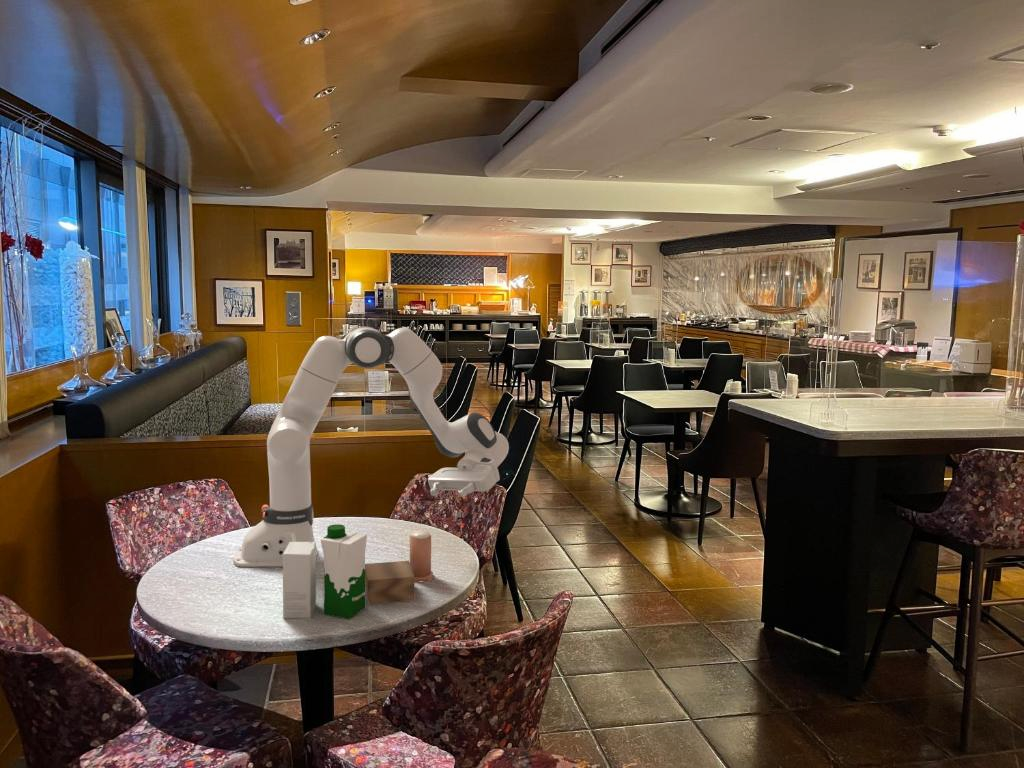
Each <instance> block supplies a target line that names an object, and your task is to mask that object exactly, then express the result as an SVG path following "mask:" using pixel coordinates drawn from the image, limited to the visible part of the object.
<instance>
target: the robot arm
mask: <svg viewBox="0 0 1024 768" xmlns="http://www.w3.org/2000/svg"><path fill="white" fill-rule="evenodd" d="M386 363H390V364H391V365H392V366H393V367H394V368H395V369H396V370H397V372H398V373H399V374H400V375H401V377H403V379H404V380H405V382H406V385H407V387H408V396H409V399H410V401H411V403H412V405H413V407H414V408H415V410H416V412H417V413H418V414H419V416H420V418H421V419H422V421H423V423H424V424H425V426H426V427H427V429H428V430H429V432H430V434H431V435H432V438H433V440H434V443H435V445H436V447H437V449H438V450H439V452H440V453H441V454H443V455H444V456H445V457H448V458H450V459H451V458H452V459H455V458H457V457H459V456H461V455H463V454H465V453H466V452H468V453H467V454H465V455H464V456H463V457H462V458H461V459H460V460H459V461H458V462H457V465H456V466H455V467H451V466H450V467H442V468H440V469H438V470H437V471H436V472H434V473H432V474H431V475H430V476H428V478H427V482H428V485H429V489H430V491H429V492H430V495H431V497H437V496H438V495H439V494H440V491H457V496H458V497H459V498H460V497H461V498H464V497H466V495H469V494H471V493H473V492H487V491H489V490H490V489H492V488H493V487H494V486H495V485H496V484H497V482H499V481H500V480H501V479H500V477H501V476H500V472H499V469H498V468H499V466H500V465H501V464H502V463H503V461H504V460H505V459H506V457H507V455H508V454H509V450H510V446H509V445H510V444H509V441H508V439H507V438H506V436H505V435H503V433H500V432H497V431H496V430H495V429H494V426H493V425H492V423H491V421H489V419H488V418H487V417H486V416H485V415H483V414H482V413H480V412H476V411H474V412H471V413H469V414H466V415H464V416H463V417H461V418H458V419H456V420H455V421H453V422H450V421H448V420H447V419H446V418H445V416H444V415H443V413H442V412H441V410H440V408H439V407H438V405H437V404H436V402H435V399H434V392H435V390H436V389H437V388H438V386H439V384H440V382H441V381H442V377H443V366H442V363H441V361H440V360H439V358H438V357H437V356H436V354H435V353H434V352H433V350H432V349H431V348H430V347H429V346H428V344H426V343H425V341H424V340H423V339H422V338H421V337H420V336H418V334H416V333H415V332H414V331H413V330H412V329H410V328H409V327H399V328H396V329H394V330H393V331H391V332H390V333H388V334H383V333H382V332H380V331H379V330H377V329H376V328H374V327H371V326H367V325H366V326H365V325H361V326H357V327H355V328H354V329H353V328H352V330H350V331H349V332H348V333H346V334H345V335H344V336H342V337H340V338H337V337H335V336H332V335H323V336H320V337H318V338H317V339H316V340H315V341H314V343H313V344H312V345H311V347H310V348H309V350H308V352H307V353H306V354H305V356H304V357H303V360H302V362H301V363H300V366H299V368H298V370H297V373H296V374H295V377H294V378H293V381H292V383H291V385H290V387H289V390H288V392H287V393H286V396H285V398H284V400H283V402H282V404H281V406H280V408H279V410H278V411H277V412H278V413H277V415H276V416H275V419H274V420H273V423H272V425H271V428H270V429H269V430H270V431H269V432H268V435H267V439H266V450H267V451H266V452H267V454H266V455H267V467H268V478H269V480H268V481H269V484H268V485H269V505H268V504H263V505H262V506H261V513H262V514H261V515H262V520H261V521H260V522H259V523H257V524H256V525H255V526H254V527H252V528H251V529H250V530H248V531H247V532H246V533H245V536H244V537H243V539H242V543H241V547H240V548H239V549H236V550H235V552H234V554H233V559H232V561H233V564H234V565H235V566H237V567H248V568H249V567H250V568H251V567H252V568H253V567H283V553H284V551H285V549H286V548H287V546H288V544H289V542H316V540H315V536H314V531H313V530H314V528H313V525H314V507H313V504H312V487H311V486H312V485H311V484H312V483H311V482H312V480H311V478H312V477H311V449H310V447H311V446H310V445H311V444H310V443H311V439H312V438H311V437H312V435H313V433H314V432H315V429H316V427H317V425H318V423H319V421H320V420H321V418H322V416H323V414H324V412H325V410H326V408H327V406H328V405H329V402H330V401H331V398H332V396H333V394H334V392H335V390H336V387H337V385H338V383H339V381H340V379H341V376H342V374H344V371H345V369H346V368H347V367H348V366H350V365H352V364H353V365H355V366H357V367H359V368H362V369H374V368H377V367H379V366H381V365H383V364H386ZM318 553H319V550H318V547H316V556H317V555H318Z"/></svg>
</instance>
